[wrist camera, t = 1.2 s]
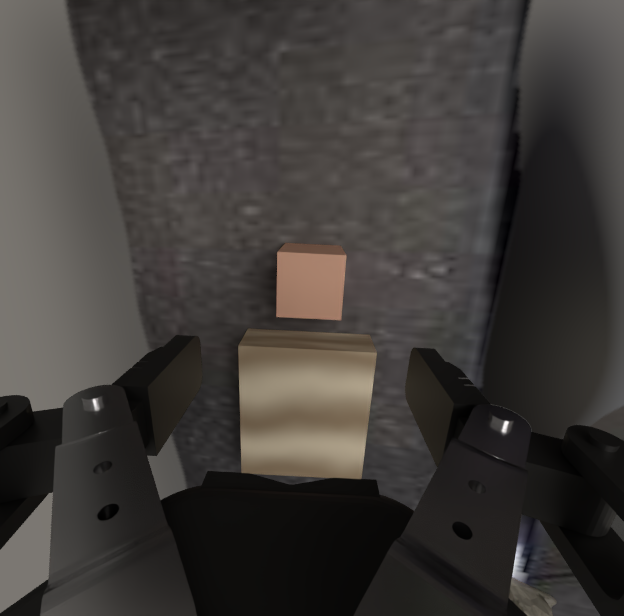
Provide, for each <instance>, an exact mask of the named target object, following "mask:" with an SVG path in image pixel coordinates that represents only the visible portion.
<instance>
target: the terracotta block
mask: <svg viewBox="0 0 624 616" xmlns="http://www.w3.org/2000/svg"><path fill="white" fill-rule="evenodd" d="M345 266H346V254H345V252H344V251H343V249H342V247H341V246H335V245H316V244H296V243H285V244H284V245H283V246H282V247H281V248H280V250H279V251H278V252H277V312H276V317H288V318H307V319H326V320H341V315H342V303H343V291H344V278H345Z"/></svg>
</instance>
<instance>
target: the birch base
mask: <svg viewBox="0 0 624 616" xmlns="http://www.w3.org/2000/svg"><path fill="white" fill-rule="evenodd" d="M238 354H239V393H240V431H241V470H242V473H250V474H267V475H286V476H305V477H324V478H350V479H361V476H362V468H363V460H364V452H365V444H366V436H367V428H368V420H369V412H370V404H371V396H372V388H373V380H374V372H375V364H376V356H377V352H376V350H375V347H374V345H373V342H372V340H371V337H370V335H363V334H344V333H325V332H305V331H286V330H267V329H248V330H247V331H246V333H245V335H244V337H243V338H242V340H241V342H240V343H239V345H238Z"/></svg>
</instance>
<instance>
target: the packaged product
mask: <svg viewBox="0 0 624 616" xmlns="http://www.w3.org/2000/svg"><path fill="white" fill-rule="evenodd" d="M509 599H510V600H511V601H513V602H514V603H515V604H516V605H517V606H518V607H519V608H520V609H521V610H522V611H523V612H524V613H525V614H526V615H527V616H553V615H552V609H551V607H552V606H553V605H555V604H556V603H557V602H556V600H555V599H554V598H553V597H552V596H550V595H548V594H546V593H544V592H542V591H540V590H538V589H536V588H533V587H531V586H529V585H527V584H525V583H522V582H520V581H518V580H516V579H515V578H513V577H512V579H511V585H510V592H509Z"/></svg>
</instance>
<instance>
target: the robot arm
mask: <svg viewBox="0 0 624 616" xmlns="http://www.w3.org/2000/svg"><path fill="white" fill-rule="evenodd" d="M201 383H202V361H201V347H200V340H199V337H198V336H184V335H176V336H175V337H174V338H173V339H172V340H171V341H169V342H168V343H167V344H166V345H165V346H164V347H160V348H158V349H156V350H154V351H151V352H149V353H148V354H146V355H145V356H144V357H143V358H142V359H141V360H140V361H139V362H137V363H136V364H135V365H134V366H133V367H132V368H130V369H129V370H128V371H127V372H126V373H124V374H123V375H122V376H121V377H120V378H119V379H118V380H116V381H115V382H114V383H113V384H112V385H101V386H95V387H92V388H88V389H85V390H83V391H80V392H78V393H76V394H74V395H73V396H71V397H70V398H69V399H67V401H66V402H65V403H64V405H63V408H57V409H49V410H42V411H34V412H33V411H32V408H31V404H30V401H29V399H28V398H27V397H25V396H20V395H11V396H3V397H0V549H1V548H2V547H3V546H4V545H5V544H6V542H7V541H8V540H9V539H10V538H11V537H12V535H13V534H14V533H15V532H16V531H17V530H18V528H19V527H20V526H21V525H22V524H23V523H24V521H25V520H26V519H27V518H28V517H29V516H30V515H31V513H32V512H33V511H34V510H35V509H36V508H37V507H38V505H39V504H40V503H41V502H42V501H43V500H44V498H45V497H46V496H47V495H48V493H52V492H53V503H52V524H51V543H50V563H49V579H48V580H46V581H45V582H44V583H42V584H41V585H39V586H38V587H37V588H35V589H34V590H32V591H31V592H30V593H28V594H27V595H25V596H24V597H23V598H21V599H20V600H19V601H17V602H16V603H14V604H13V605H11V606H10V607H9V608H7V609H6V610H4V611H3V612H2V613H0V616H527V615H526V614H525V613H524V612H523V611H522V610H521V609H520V608H519V607H518V606H517V605H516V604H515V603H514V602H513V601H511V600H510V599H509V592H510V585H511V579H512V573H513V566H514V560H515V553H516V547H517V541H518V534H519V528H520V522H521V515H522V514H523V515H526V516H529V517H532V518H535V519H538V520H540V522H541V524H542V525H543V527H544V528H545V530H546V532H547V533H548V535H549V536H550V538H551V539H552V541H553V542H554V544H555V546H556V547H557V549H558V550H559V552H560V553H561V555H562V556H563V558H564V559H565V561H566V563H567V564H568V566H569V567H570V569H571V570H572V572H573V573H574V575H575V577H576V578H577V580H578V581H579V583H580V584H581V586H582V587H583V589H584V591H585V592H586V594H587V595H588V597H589V598H590V600H591V601H592V603H593V605H594V606H595V608H596V609H597V611H598V612H599V614H600V615H601V616H624V542H623V541H622V539H621V538H620V537H619V536H618V535H617V533H616V532H615V531H614V530H613V529H612V528H611V525H612V523H613V521H614V519H615V516H616V514H617V515H618V516H619V517H620V518H621V519H622V520H623V521H624V441H623V440H621V439H619V438H618V437H616V436H614V435H612V434H610V433H607V432H605V431H602V430H599V429H596V428H593V427H589V426H582V425H574V426H570V427H568V429H567V430H566V433H565V436H564V439H559V438H554V437H550V436H546V435H542V434H538V433H534V432H531V427H530V425H529V424H528V422H527V421H526V420H525V419H524V418H523V417H521V416H520V415H518V414H517V413H514V412H513V411H511V410H509V409H506V408H503V407H500V406H496V405H491V404H490V403H489V401H488V400H487V399H486V398H485V397H484V396H483V395H482V393H481V392H480V391H479V390H478V389H477V388H476V387H475V386H474V384H473V383H472V382H471V381H470V380H469V379H468V377H467V376H466V375H465V374H464V373H463V372H462V370H461V369H459V368H457V367H456V366H454V365H453V364H451V363H449V362H445V361H444V360H443V358H442V357H441V356H440V355H439V353H438V352H437V351H436V350H435V349H430V348H413V349H412V351H411V355H410V361H409V367H408V373H407V379H406V386H405V393H406V400H407V403H408V405H409V407H410V409H411V411H412V413H413V416H414V418H415V420H416V422H417V424H418V427H419V429H420V431H421V433H422V435H423V438H424V440H425V442H426V444H427V446H428V448H429V451H430V453H431V455H432V457H433V459H434V462H435V464H436V466H437V469H436V471H435V473H434V475H433V477H432V478H431V480H430V482H429V484H428V486H427V488H426V490H425V492H424V494H423V496H422V498H421V499H420V501H419V503H418V505H417V507H416V509H415V511H413V510H412V509H410V508H409V507H407V506H405V505H404V504H402V503H400V502H398V501H396V500H393V499H391V498H388V497H386V496H383V495H379V490H378V485H377V481H376V480H370V479H350V478H330V479H324V480H319V481H313V482H307V483H301V484H295V485H289V484H285V483H281V482H278V481H274V480H271V479H267V478H264V477H260V476H257V475H253V474H250V473H235V472H215V471H208V472H207V474H206V476H205V479H204V481H203V484H202V485H201V486H196V487H192V488H189V489H185V490H183V491H180V492H177V493H175V494H172V495H170V496H168V497H166V498H164V499H162V500H161V501H160V498H159V495H158V491H157V488H156V484H155V481H154V478H153V475H152V471H151V468H150V464H149V461H148V458H147V455H150V456H157V455H158V453H159V452H160V450H161V448H162V447H163V445H164V444H165V442H166V441H167V439H168V438H169V436H170V435H171V433H172V431H173V430H174V428H175V427H176V425H177V424H178V422H179V421H180V419H181V417H182V416H183V414H184V413H185V411H186V410H187V408H188V407H189V405H190V403H191V402H192V400H193V399H194V397H195V396H196V394H197V393H198V391H199V389H200V386H201Z"/></svg>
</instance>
